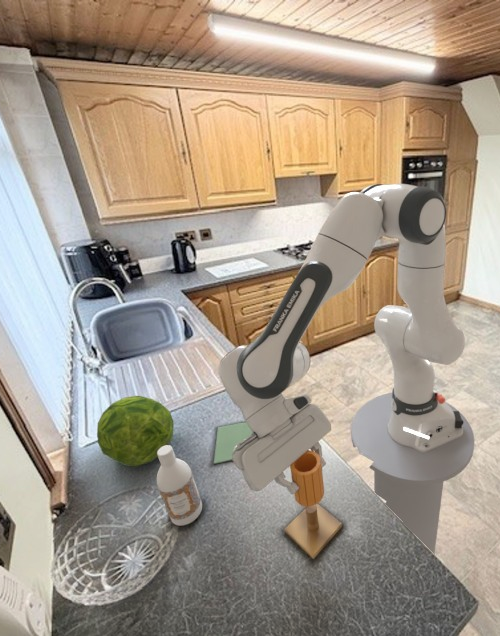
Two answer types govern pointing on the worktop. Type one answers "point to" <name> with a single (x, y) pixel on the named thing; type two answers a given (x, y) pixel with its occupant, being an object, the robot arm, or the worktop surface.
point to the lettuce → (134, 430)
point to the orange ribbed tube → (308, 479)
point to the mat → (230, 440)
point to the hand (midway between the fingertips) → (309, 478)
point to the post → (313, 529)
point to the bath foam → (177, 488)
